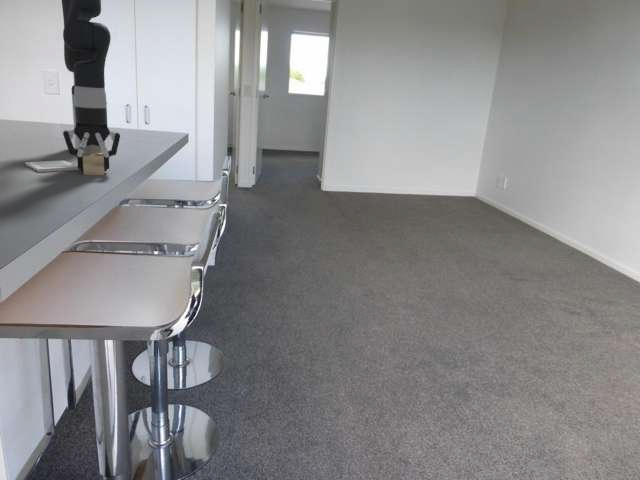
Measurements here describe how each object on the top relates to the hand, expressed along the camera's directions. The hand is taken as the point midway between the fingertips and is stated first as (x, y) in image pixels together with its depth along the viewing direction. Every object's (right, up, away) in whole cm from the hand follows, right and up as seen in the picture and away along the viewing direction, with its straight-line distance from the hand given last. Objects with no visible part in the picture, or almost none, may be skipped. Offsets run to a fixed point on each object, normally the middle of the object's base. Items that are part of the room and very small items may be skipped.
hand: (94, 170), depth 134 cm
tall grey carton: (-4, +3, +9) cm, 11 cm away
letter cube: (0, -1, 0) cm, 1 cm away
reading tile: (-12, +1, +2) cm, 12 cm away
